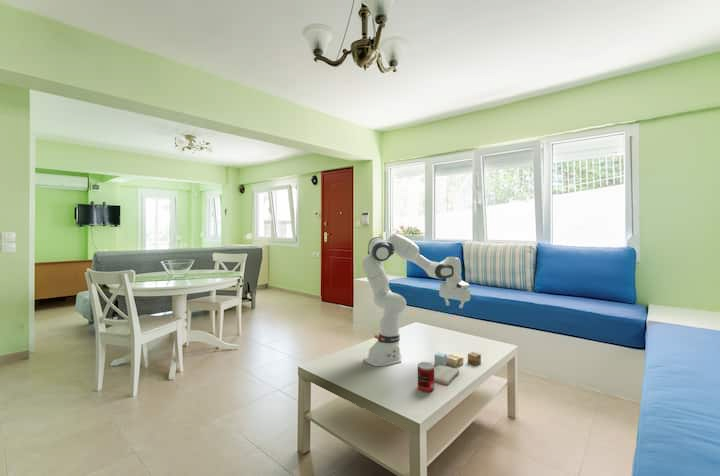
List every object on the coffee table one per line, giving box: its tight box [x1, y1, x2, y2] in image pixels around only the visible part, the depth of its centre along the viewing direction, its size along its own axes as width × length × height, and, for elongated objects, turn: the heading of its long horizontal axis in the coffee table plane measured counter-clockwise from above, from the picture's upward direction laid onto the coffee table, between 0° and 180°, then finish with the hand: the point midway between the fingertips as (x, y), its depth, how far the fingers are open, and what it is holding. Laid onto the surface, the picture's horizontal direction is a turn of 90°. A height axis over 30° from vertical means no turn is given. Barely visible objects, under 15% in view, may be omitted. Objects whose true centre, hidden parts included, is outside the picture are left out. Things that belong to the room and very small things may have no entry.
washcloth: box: [434, 365, 460, 386], centre depth 163 cm, size 12×18×3 cm, turn 145°
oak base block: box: [447, 353, 464, 368], centre depth 180 cm, size 7×7×4 cm
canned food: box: [417, 361, 435, 393], centre depth 150 cm, size 8×8×11 cm
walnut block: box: [467, 351, 482, 366], centre depth 181 cm, size 5×5×5 cm
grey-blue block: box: [434, 351, 448, 367], centre depth 177 cm, size 5×5×6 cm
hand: (454, 306), depth 190 cm, fingers open, 8 cm apart
